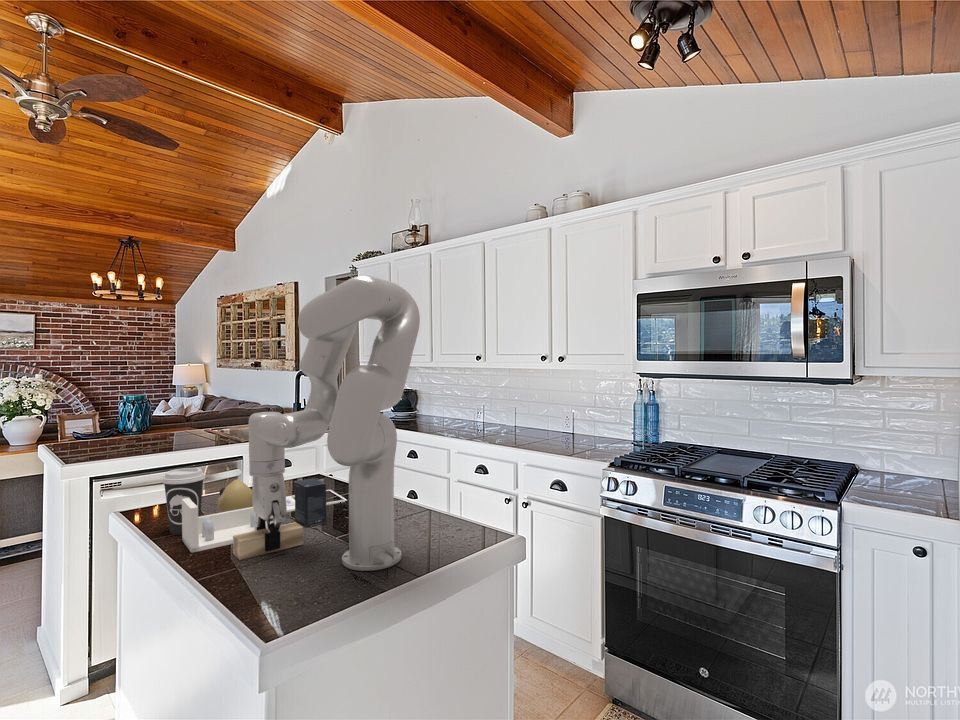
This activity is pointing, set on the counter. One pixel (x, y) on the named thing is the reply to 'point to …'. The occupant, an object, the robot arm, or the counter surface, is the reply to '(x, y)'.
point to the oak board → (255, 541)
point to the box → (310, 502)
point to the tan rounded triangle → (235, 497)
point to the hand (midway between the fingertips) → (268, 545)
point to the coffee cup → (182, 493)
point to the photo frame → (291, 502)
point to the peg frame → (214, 526)
